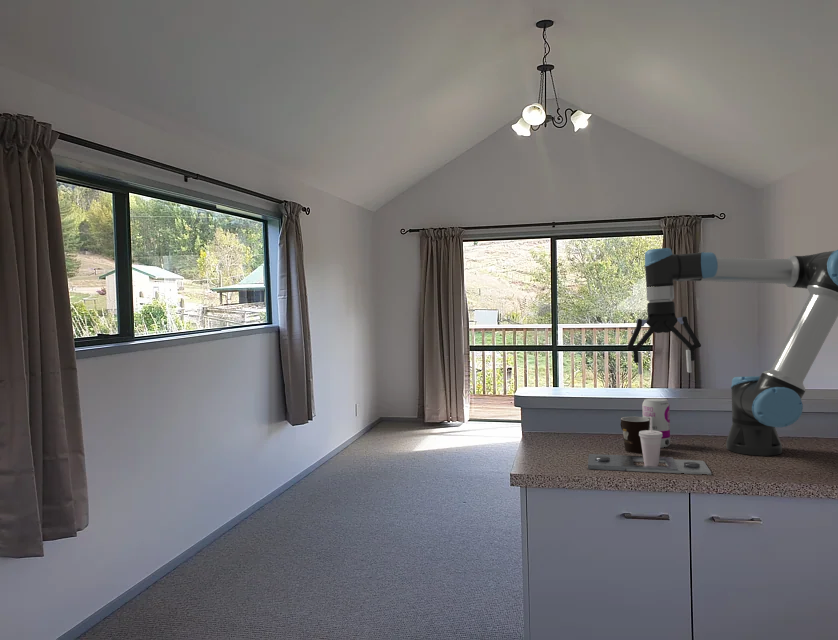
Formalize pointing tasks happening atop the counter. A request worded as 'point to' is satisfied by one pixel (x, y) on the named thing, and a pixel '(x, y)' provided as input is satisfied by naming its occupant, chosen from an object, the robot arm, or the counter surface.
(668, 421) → the supplement can
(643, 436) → the smoothie
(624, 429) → the coffee mug
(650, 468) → the link plate
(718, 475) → the counter surface
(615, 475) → the counter surface
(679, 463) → the link plate
